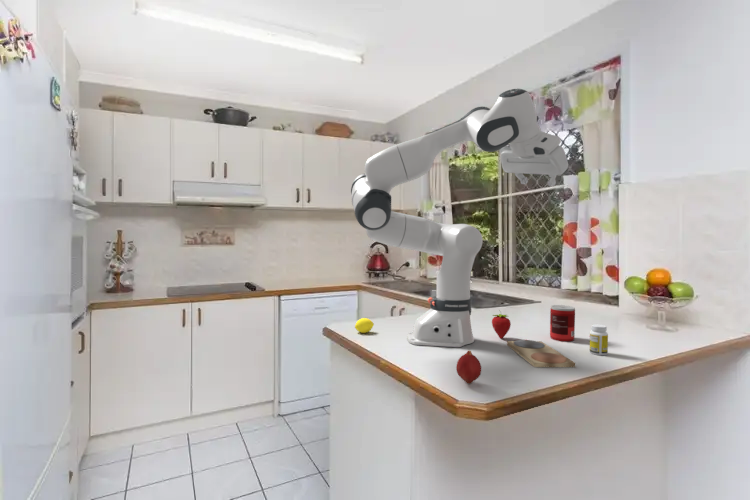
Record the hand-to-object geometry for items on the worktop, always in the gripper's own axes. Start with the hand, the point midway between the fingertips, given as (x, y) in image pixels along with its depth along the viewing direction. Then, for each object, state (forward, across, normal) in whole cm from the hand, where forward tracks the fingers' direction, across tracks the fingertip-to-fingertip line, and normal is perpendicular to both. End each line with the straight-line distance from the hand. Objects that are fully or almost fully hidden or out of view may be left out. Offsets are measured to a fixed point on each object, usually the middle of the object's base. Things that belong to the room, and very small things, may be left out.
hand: (538, 184), depth 123 cm
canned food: (+52, +6, -16) cm, 55 cm away
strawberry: (+43, -6, -31) cm, 53 cm away
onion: (+15, +16, -61) cm, 65 cm away
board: (+36, +12, -34) cm, 51 cm away
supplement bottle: (+46, +21, -20) cm, 54 cm away
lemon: (+26, -39, -61) cm, 77 cm away
